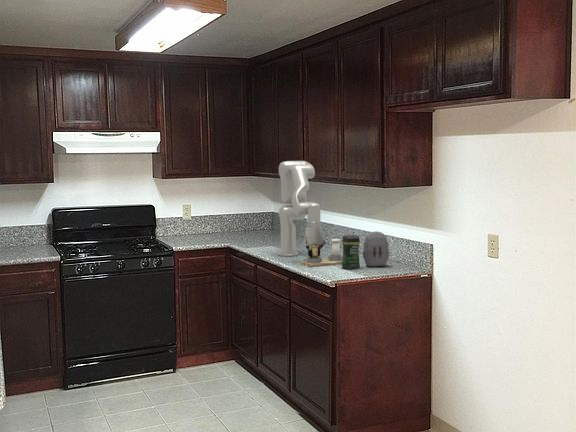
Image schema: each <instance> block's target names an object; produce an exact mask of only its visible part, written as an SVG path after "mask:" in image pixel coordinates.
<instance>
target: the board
mask: <svg viewBox="0 0 576 432" xmlns="http://www.w3.org/2000/svg"><path fill="white" fill-rule="evenodd" d="M299 265H303V266H304V267H308V268H317V267H329V266H340V265H341V266H342V261H329V259H328V258H322V262H321V263H308V262H307V259H305V260H300V261H299Z"/></svg>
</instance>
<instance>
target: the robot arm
mask: <svg viewBox="0 0 576 432" xmlns="http://www.w3.org/2000/svg"><path fill="white" fill-rule="evenodd" d="M315 171H316V170H315V168H314V166H313V165H312V164H311V163H310V162H308V161H306V160H286V161H282V162H280V164H279V165H278V175H279V179H280V183H281V184H280V185H281V186H280V194H281V195H280V197H281V198H280V199H281V201H282V203H284V204H285V203H286V205H281V207H279V210H278V216H279V223H280V252H278V256H281V257H295V256H298V255H299V252H298V251H297V240H296V239H297V234H296V233H297V227H296V224H295V223H294V222H293V221H299V220H304V219H305V218H306V216H307V220H306V222H307V224H306V225H307V227H305V230H304V231H305V232H304V241H303V242H302V246H303V247H304V248H306V250H307V256H308V257H312V250H311V247H312V245H315V244H317V245H319V247H318V257H321V249H322V248H323V247H324V246H325V245H326V241H325V240H324V234H323V229H322V225H323V222H321V205H320V204H319V203H316V202H314V201H307V191H308V190H310V183H309V179H310V180H311V179H313V178H314V177H315V175H316V172H315Z"/></svg>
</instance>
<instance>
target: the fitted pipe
mask: <svg viewBox="0 0 576 432" xmlns="http://www.w3.org/2000/svg"><path fill="white" fill-rule="evenodd" d="M340 242H341V239H340V238H331V254H330V255H328V258H327V259H329V261H342V259H343V254H341V253H340V249H341V248H340V245H341V244H340Z"/></svg>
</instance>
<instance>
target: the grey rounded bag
mask: <svg viewBox="0 0 576 432" xmlns="http://www.w3.org/2000/svg"><path fill="white" fill-rule="evenodd" d="M362 258H363V260H364V263H365V265H366V266H368V267H372V268H373V267H375V268H376V267H383V266H387V263H388V260H389V258H390V250H389V242H388V239H387V236H386V235H385V234H384V233H383V232H381V231H372V232H370V233H368V234H367V235H366V236H365V239H364V242H363V250H362Z"/></svg>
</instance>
